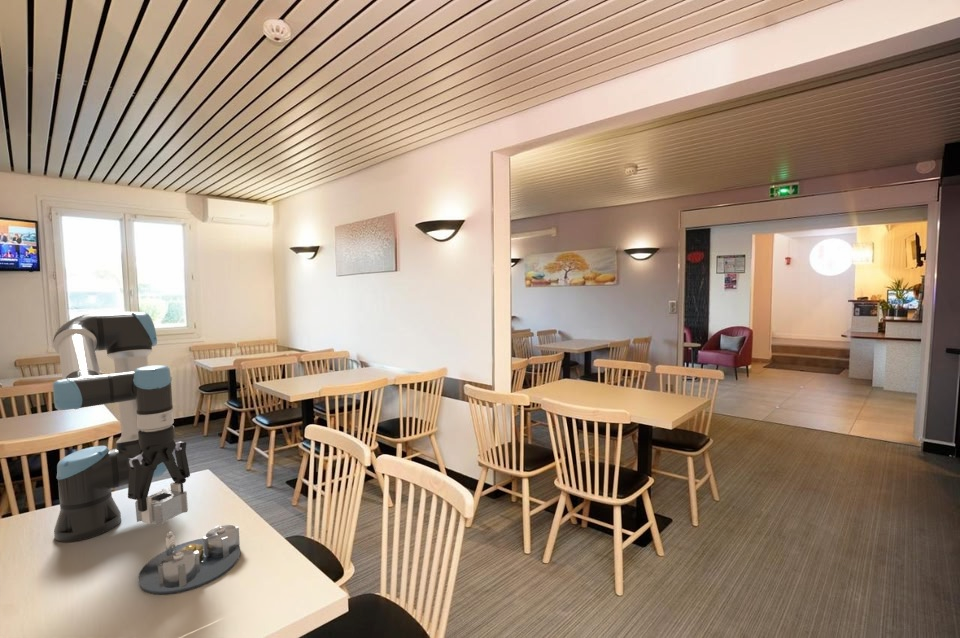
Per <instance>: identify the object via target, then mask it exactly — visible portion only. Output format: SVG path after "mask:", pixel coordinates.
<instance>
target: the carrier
mask: <svg viewBox="0 0 960 638" xmlns="http://www.w3.org/2000/svg"><path fill="white" fill-rule="evenodd" d="M240 544H241V542H240V528H239V525H231V524H224V525H221V524H219V525H217V526H214V528H213V529H210V530H209V531H208V532H206V534H205V536H202V538H199V539H193V540H190V541H186V542H183V543H180V544H178V545H176V536H175V534H174V533H173V531H171V530H170V531H168V532H167V533H166V536H165V549H166V550H165V551H163V552H160V553H159V554H157V555H155V556H154V557H153V558H152V559H150V560H149V561H148V562H147V563H146V564H145V565H144V566H143V567H142V569H141V570H140V571H139V573H138V586H139V588H140V589H141V590H142V591H143V592H145V593H147V594H151V595H156V596H157V595H158V596H160V595H173V594H180V593H184V592H185V593H186V592H188V591H191V590H195V589H197V588H200V587H203V586H205V585H208V584H210V583H212V582H213V581H215V580H217V579H219V578H220V577H222V576H223V575H225V574H227V573H228V572H229V571H230V570H231V569H232V568H233V567H234V566H235V565H236V564H237V563H238V561H239V560H240V557H241V546H240Z"/></svg>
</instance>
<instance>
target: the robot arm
mask: <svg viewBox="0 0 960 638" xmlns="http://www.w3.org/2000/svg"><path fill="white" fill-rule="evenodd" d="M157 338H158V337H157V333H156V328H155V324H154V321H153V319H152V317H151V315H149V313H147V312H144V311H123V312H106V313H87V314H82V315H80V316H76V317H74V318H72V319H70V320H68V321H66V322H65V323H63V325H61V326H60V327H59V328H58V329H57V331H56V332H55V334H54V336H53V340H52V343H53V349H54V351H55V352H56V353H57V355H59V361H60V362H59V363H60V369H61V370H60V371H61V378H62V379H57V380H55V381H54V382H53V383H52V391H53V403H54V408H55V409H56V410H57V411H66V410H79V409H83V408H89V407H96V406H102V405H103V406H104V405H108V404H117V403H118V412H119V414H118V415H119V422H120V431H121V435H120V437H119V438H118V440H116V442H115V444H116V447H115V448H112V449H109V447H107V445H98V446H97V445H96V446H90V447H86V448H83V449H80V450H76V451H74V452H72V453H70V454H68V455H65V456H64V457H63V458H61V459H60V460H59V461H58V463H57V465H56V472H57V473H56V479H57V482H58V483H57V485H58V498H59V509H60V510H59V513H58V517H57V520H56V523H55V525H54V530H53V535H54V539H55V541H57V542H61V543H62V542H63V543H70V542H79V541H82V540H87V539H90V538H93V537H96V536H99V535H102V534H104V533H106V532H108V531H110V530H112V529H113V528H115V527H117V526H118V525H119V524H120V523H121V521H122V516H121V514H122V513H121V511H120V509H119V506H118V505H117V504H116V501H115V500H114V498H113V495H112V494H113V493H112V489H115V488H120V487H124V486H127V487H128V488H127V498H128V499H129V500H130V499H131V500H135V501H138V510H139V511H141V512H142V521H141V522H142V523H146V524H153V523H152V522H153V519H152V506H151V504H152V503H151V497H149V496H150V495H149V491H150V488H151V485H152V480H153V479H155V478H159V477H162V476H163V475H164V474H165V473H166V472H168V474H169V476H170V477H171V479H172V481H173V482H171V483H170V490H172V491H178V492H184V484H185V483H186V481H187V479H188V478H189V477H190V476H191V472H190V467H189V461H188V457H187V449H186V448H187V442H185V441H180V440H179V441H176V442H175V439H176V432H175V426H174V425H173V424H174V422H175V420H174V407H173V394H172V393H173V392H172V390H173V389H172V380H173V378H172V376H171V370H170V367H169V366H168V365H161V364H159V365H158V364H157V365H155V364H154V365H149V362H148V356H149V355H150V354H151V353H153V347H155V346H157V345H158V339H157ZM97 351H106V354H107V355H106V356H107V357H109V358H110V359H111V360H113V362H114V363H113V364H114V365H113V366H114V371H115V372H114V373H106V374H101V372H100V367H99V363H98V358H97V354H96V352H97ZM173 452H174V454H173ZM174 455H175V456H174ZM148 495H149V496H148Z"/></svg>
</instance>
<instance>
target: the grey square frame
mask: <svg viewBox="0 0 960 638" xmlns="http://www.w3.org/2000/svg"><path fill="white" fill-rule="evenodd" d="M149 497H151V503H152V504H151V506H152V519H153V522H152V523H151V524H155V527H158V526H162V525H164V523H165V522H168V521H170V520H171V519H173V518H175V517H177V516H179V515H181V514H183V513H188V512H189V511H188V510H189V504H188V491H187V490H186V491H183V492H178V491H172V490H171V489H170V488H169V487H168V488H162V489H161V490H160V491H157V492H155V493H154V494H153V493H152V494H151V495H149ZM135 514H136V516H135V517H136V518H135V519H136V523H138V522H139V523H140V522H142V512H141V511H139V510H138V501H137V500H135Z"/></svg>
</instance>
